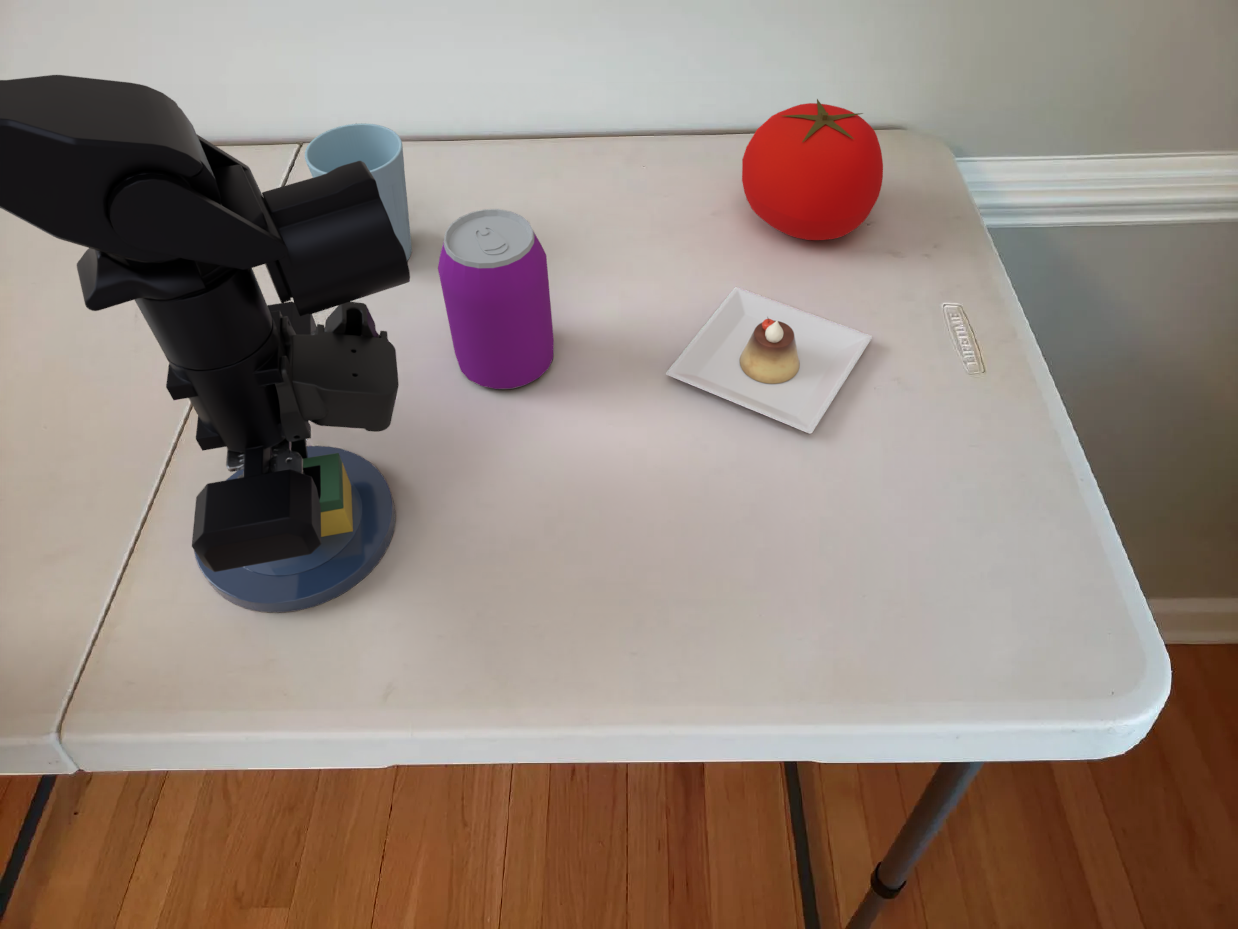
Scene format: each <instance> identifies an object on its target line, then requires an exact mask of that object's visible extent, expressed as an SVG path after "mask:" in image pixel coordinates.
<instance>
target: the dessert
mask: <svg viewBox="0 0 1238 929" xmlns="http://www.w3.org/2000/svg"><path fill="white" fill-rule="evenodd" d="M872 338H873V335H872V334H868V333H866V332H863V331H861V330H857V329H855V328H852V327H850V326H847V325H844V324H840V323H838V322H836V321H833V320H830V319H827V318H824V317H822V316H819V315H816V314H813V313H811V312H808V311H806V310H803V309H800V308H797V307H795V306H792V305H789V304H786V303H784V302H781V301H779V300H775V299H773V298H770V297H767V296H764V295H762V294H759V293H756V292H753V291H751V290H748V289H745V288H742V287H741V286H735V287H734V288H733V289H732V290H731V291H730V293H729V294H728V295H727V297H726V298H725V299H724V300H723V301H722V303H721V304H720V305H719V306H718V308H717V309H716V310H715V312H713V314H712V315H711V316H710V318H709V319H708V320H707V321H706V323H705V324H704V325H703V326H702V327H701V329H700V330H699V331H698V332H697V333H696V335H695V336H694V337H693V339H692V340H691V341H690V342H689V343H688V345H687V346H686V348H685V349H684V350H683V351H682V352H681V354H679V356H678V357H677V358H676V360H675V361H674V362H673V363H672V365H671V366H670V367H669V368H668V370H667V371H666V372H665V375H667V376H669V377H671V378H674V379H676V380H678V381H681V382H683V383H685V384H688V385H691V386H693V387H695V388H698V389H700V390H702V391H705V392H707V393H710V394H711V395H715V396H717V397H720V398H722V399H724V400H727V401H728V402H731V403H734V404H736V405H738V406H742V407H743V408H745V409H748V410H751V411H753V412H756V413H758V414H760V415H763V416H765V417H768V418H770V419H773V420H776V421H777V422H780V423H783V424H785V425H787V426H789V427H792V428H795V429H797V430H799V431H801V432H804V433H806V434H813V432H814V431H815V429H816V428H817V426H818V424H819V423H820V421H821V420H822V418H823V417H824V415H825V413H826V411H827V410H828V409H829V407H830V405H831V404H832V402H833V400H834V399H835V398H836V396H837V394H838V393H839V391H840V390H841V388H842V386H843V385H844V383H845V382H846V380H847V378H848V377H849V375H850V373H851V372H852V370H853V369H854V367H855V366H856V364H857V362H858V361H859V359H860V358H861V356H862V354H863V353H864V351H865V350H866V348H867V347H868V345H869V343H870V342H871V340H872Z"/></svg>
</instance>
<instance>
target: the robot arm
mask: <svg viewBox="0 0 1238 929" xmlns="http://www.w3.org/2000/svg"><path fill="white" fill-rule="evenodd" d="M0 209H1V210H4V211H5V212H8V213H9V214H10V215H12V216H14V217H16V218H18V219H20V220H22V221H24V222H26V223H27V224H29V225H31V226H33V227H34V228H37V229H39V230H40V231H42V232H44V233H46V234H48V235H50V236H51V237H53V238H56V239H58V240H61V241H64V242H68V243H71V244H74V245H78V246H81V247H84V248H87V249H86V250H85V251H84V253H83V255H82V256H81V258H80V259H79V260H78V261H77V263H76V270H77V275H78V279H79V283H80V289H81V293H82V296H83V297H82V298H83V302H84V305H85V307H86V308H87V309H88V310H89V311H91V312H99V311H102V310H106V309H109V308H112V307H115V306H118V305H121V304H125V303H129V302H131V301H134V302H135V303H136V306H137V307H138V309H139V311H140V313H141V315H142V316H143V318H144V320H145V322H146V324H147V325H148V327H149V329H150V331H151V332H152V334H153V336H154V338H155V340H156V342H157V343H158V345H159V347H160V349H161V351H162V353H163V354H164V356H165V358H166V360H167V362H168V367H167V368H168V369H167V376H166V377H167V378H166V384H165V388H166V390H167V392H168V393H169V395H170V397H171V399H172V400H173V401H178V400H186V399H188V400H189V401H190V403H191V405H192V407H193V409H194V410H195V412H196V415H197V423H196V433H195V441H196V443H197V444H198V446H199V447H200V449H201V451H202V452H203V451H204V452H205V451H210V450H214V449H221V448H226V459H225V460H226V463H225V466H226V469H227V471H229V472H230V473H233V472H234V473H235V472H237V471H240V470H243V469H244V471H243V475H240V476H238V478H237V479H231V480H226V479H225V480H220V481H215V482H208V483H206V484H205V486H204V487H203V488H202V489H201V491H199V493H198V494H197V495H196V496H195V497H196V498H195V505H194V506H195V508H194V518H193V519H194V520H193V528H192V538H191V548H192V549H193V552H194V551H195V552H196V554H197V555H198V557H199V558H200V560H201V561H202V563H203V564H204V566H206V567H207V568H209V569H211V570H212V571H214V572H218V571H223V570H229V569H234V568H239V567H245V566H250V565H256V564H261V563H266V562H272V561H277V560H282V559H288V558H293V557H298V556H304V555H309V554H312V553H313V552H314V551H315V550H316V549H317V548H318V547H319V546H320V545H321V507H320V502H319V500H320V497H321V466H320V465H316V466H311V467H305V468H303V459H304V458H308V453H307V446H308V445H307V440H309V439H311V438H312V426H311V423H313V424H314V425H317V426H321V427H330V428H331V427H333V428H347V429H349V428H350V429H361V430H363V429H364V430H365V431H366V432H374V433H375V432H383V431H385V430H387V429H388V428H389V427H390V426H391V424H392V419H393V414H394V409H395V404H396V399H397V395H398V391H399V387H400V386H399V383H400V382H399V374H398V362H397V360H398V359H397V352H396V351H397V350H396V347H395V346H394V345H393V343H392V342H390V341H389V338H388V336H389V335H388V331H387V330H380V331H379V332H378V331H377V329H376V322H375V320H374V318H373V316H372V314H371V311H370V310H369V308H368V306H367V304H366V303H364V302H356V300H359V299H361V298H365V297H368V296H371V295H374V294H377V293H380V292H383V291H386V290H390V289H393V288H395V287H398V286H402V285H404V284H405V285H406V284H408V283H410V280H411V275H410V268H409V262H408V261H407V258H406V254H405V251H404V248H403V246H402V245H401V243H400V241H399V240H398V238H397V236H396V235H395V233H394V230H393V227H392V224H391V222H390V219H389V217H388V214H387V212H386V210H385V207H384V205H383V203H382V200H381V198H380V195H379V191H378V187H377V183H376V180H375V179H374V177H373V176H372V174H371V172H370V171H369V169H368V167H367V166H366V164H365V163H364V162H362V161H357V162H353V163H350V164H346V165H343V166H340V167H337V168H335V169H334V170H332V171H330V172H328V173H326V174H324V175H321V176H317V177H314V178H313V177H311V178H307V179H304V180H300V181H297V182H293V183H289V184H287V185H283V186H279V187H276V188H273V189H269V190H266V191H262V192H261V189H260V187H259V185H258V183H257V180H256V179H255V176H254V175H253V172H252V170H251V168H250V167H249V166H248V165H247V164H245V163H244V162H242V161H240V159H237V158H236V157H235V156H233V155H231V154H229V153H228V152H226V151H225V150H223V149H221V148H219V147H218V146H216V145H215V144H213V143H211V142H210V141H209V140H207V139H206V138H204V137H202V136H200V135H199V134H197V131H196V130H195V127H194V124H193V123H192V122H191V121H190V119H189V118H188V116H187V115H186V113H185V112H184V111H183V109H182V108H181V107H180V106H179V105H178V103H177V102H176V101H175V100H174V99H172V98H171V97H170V96H168V95H167V94H165V93H164V92H162V91H159V90H157V89H154V88H152V87H150V86H148V85H145V84H140V83H135V82H128V81H119V80H112V79H111V80H110V79H102V78H101V79H100V78H93V77H83V76H76V75H75V76H74V75H64V74H49V75H39V76H31V77H22V78H21V77H20V78H13V79H12V78H11V79H0ZM264 265H265V268H266V270H267V273H268V275H269V278H270V280H271V284H272V285H273V287H274V289H275V293H276V294H277V297H278V299H279V301H280V303H279V302H278V303H274V304H267V301H266V299H265V296H264V294H263V291H262V289H261V287H260V284H259V281H258V279H257V277H256V274H255V272H254V270H253V268H257V267H259V266H264ZM334 307H335V308H334ZM332 308H334V310H333V311H331V313H330V314H329V315H328V316H327V318H326V319H325V324H320V323H317V324H316V321H315V318H314V316H313V315H314V314H317V313H320V312H323V311H325V310H329V309H332ZM309 421H310V422H311V423H310V422H309Z"/></svg>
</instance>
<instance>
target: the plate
mask: <svg viewBox="0 0 1238 929" xmlns="http://www.w3.org/2000/svg"><path fill="white" fill-rule="evenodd" d="M307 453H308V458H310V457H316V456H322V455H328V454H334V453H339V455H340V458H341V460H342V463H343V465H344V468H345V471H346V473H347V476H348V478H349V481H350V484H351V495H352V519H353V531H352V532H346V533H341V534H335V535H329V536H324V537H321V545H320V546H319V547H318V548H317V549H316V550H315V551H314V552H313V553H312V554H309V555H304V556H298V557H293V558H288V559H282V560H277V561H272V562H266V563H261V564H256V565H250V566H245V567H239V568H234V569H229V570H223V571H218V572H214V571H212V570H211V569H209V568H207V567H206V566H204V564H203V563H202V561H201V560H200V558H199V557H198V555H197V554H196V552H195V551H194V550H193V553H194V558H195V561H196V564H197V566H198V568H199V570H200V571H201V573H202V575H203V576H204V578H205V579H206V581H207V582H208V585H210V586H211V588H212V589H213V590H214V591H215V592H216V593H217V594H218V595H220V596H221V597H222V598H224V599H225V600H226V601H228V602H229V603H232V604H233V605H236V606H239V607H241V608H244V609H247V610H251V611H256V612H261V613H263V612H264V613H290V612H296V611H301V610H307V609H310V608H314V607H316V606H319V605H322V604H325V603H327V602H329V601H331V600H333V599H336V598H338V597H340V596H341V595H343V594H344V593H346V592H348V591H350V590H351V589H353V587H355V586H356V585H357V584H359V583H360V582H362V581H363V580H364V579H365V578H366V577H367V576H368V575H369V574H370V573H371V572H372V571H373V570H374V569H375V567H376V566H377V565H378V564H379V562H381V559H382V558H383V556H384V555H385V554H386V552H387V550H388V547H389V546H390V543H391V541H392V538H393V535H394V532H395V526H396V507H395V501H394V498H393V495H392V492H391V490H390V487H389V484H388V481H387V480H386V478H385V477H384V475H383V474H382V473H381V471H380V470H379V469H378V467H376V466H375V465H374V464H372V462H370V461H369V460H367V459H366V458H364V457H363V456H361V455H359V454H357V453H355V452H352V451H349V450H347V449H343V448H339V447H334V446H325V445H307ZM243 471H244V469H243V470H240V471H234V473H232V474H231V475H230V476H229V477H228V478H226V479H225V480H231V479H237V478H238V476H240V475H243Z"/></svg>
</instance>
